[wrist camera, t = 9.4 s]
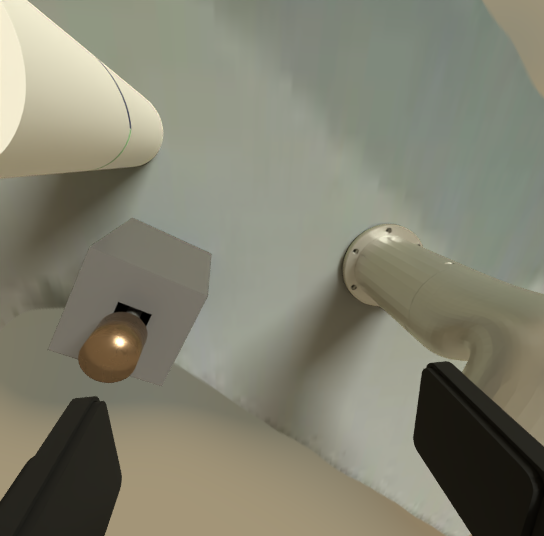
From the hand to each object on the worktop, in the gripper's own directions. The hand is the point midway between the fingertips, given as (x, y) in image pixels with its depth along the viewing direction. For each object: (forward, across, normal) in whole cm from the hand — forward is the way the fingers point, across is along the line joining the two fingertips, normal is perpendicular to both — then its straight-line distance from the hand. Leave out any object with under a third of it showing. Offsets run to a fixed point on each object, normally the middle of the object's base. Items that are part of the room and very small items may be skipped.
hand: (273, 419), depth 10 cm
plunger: (+35, +11, +7) cm, 38 cm away
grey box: (+36, +12, +7) cm, 39 cm away
